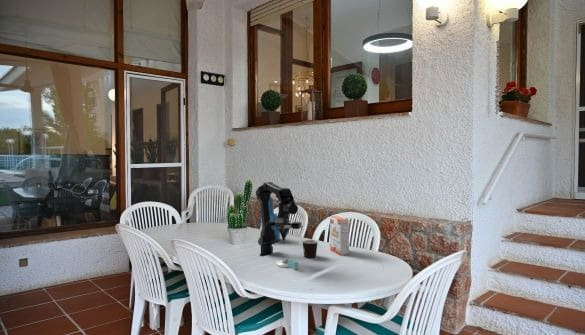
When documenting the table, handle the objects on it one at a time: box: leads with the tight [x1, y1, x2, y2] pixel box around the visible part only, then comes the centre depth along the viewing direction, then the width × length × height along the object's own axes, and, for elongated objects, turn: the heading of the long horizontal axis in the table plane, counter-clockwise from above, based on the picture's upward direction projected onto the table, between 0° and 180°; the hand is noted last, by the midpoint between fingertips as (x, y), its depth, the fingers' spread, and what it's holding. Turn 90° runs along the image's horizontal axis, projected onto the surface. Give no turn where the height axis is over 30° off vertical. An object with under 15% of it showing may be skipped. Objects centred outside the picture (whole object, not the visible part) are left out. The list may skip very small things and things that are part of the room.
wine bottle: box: [260, 196, 281, 242], centre depth 260 cm, size 14×13×30 cm
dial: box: [275, 258, 299, 271], centre depth 196 cm, size 16×10×4 cm, turn 31°
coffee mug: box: [302, 239, 319, 259], centre depth 215 cm, size 12×9×10 cm
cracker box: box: [329, 215, 350, 256], centre depth 228 cm, size 14×6×21 cm, turn 21°
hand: (283, 240), depth 205 cm, fingers closed
